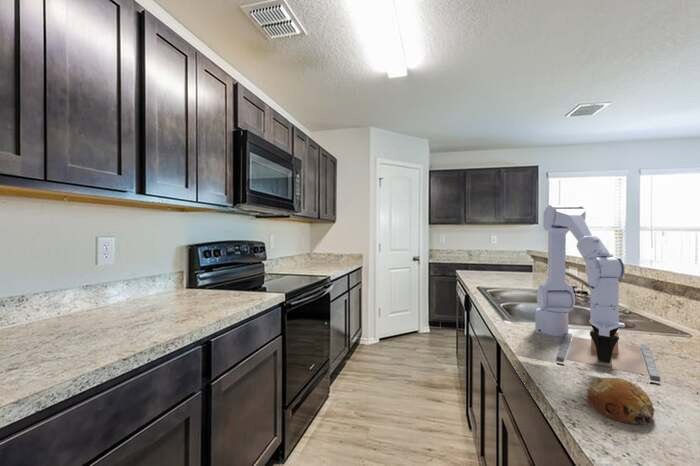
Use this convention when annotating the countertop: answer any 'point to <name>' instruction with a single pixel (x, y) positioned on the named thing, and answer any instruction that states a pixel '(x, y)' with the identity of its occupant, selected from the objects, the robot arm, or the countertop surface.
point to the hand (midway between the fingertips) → (604, 357)
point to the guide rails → (645, 348)
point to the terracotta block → (614, 346)
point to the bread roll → (620, 400)
